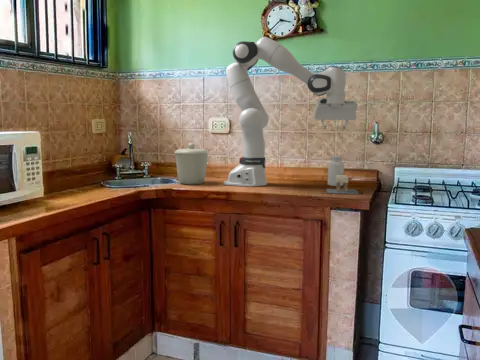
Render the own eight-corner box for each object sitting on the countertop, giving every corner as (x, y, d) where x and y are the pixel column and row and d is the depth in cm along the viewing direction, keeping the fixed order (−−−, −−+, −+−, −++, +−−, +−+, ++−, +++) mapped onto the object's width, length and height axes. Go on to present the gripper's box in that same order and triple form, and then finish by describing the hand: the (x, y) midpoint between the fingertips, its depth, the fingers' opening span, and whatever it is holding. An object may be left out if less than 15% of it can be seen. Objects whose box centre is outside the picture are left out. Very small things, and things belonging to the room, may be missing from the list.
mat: (327, 193, 212) (327, 192, 212) (326, 189, 223) (326, 188, 223) (358, 194, 209) (358, 193, 209) (355, 190, 221) (356, 189, 221)
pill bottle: (343, 186, 234) (344, 157, 232) (327, 186, 235) (328, 156, 233) (343, 184, 241) (344, 156, 239) (327, 184, 243) (328, 155, 241)
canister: (200, 186, 228) (200, 144, 225) (167, 184, 233) (167, 143, 230) (214, 182, 245) (214, 142, 242) (183, 180, 250) (183, 141, 248)
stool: (335, 189, 221) (336, 175, 220) (346, 189, 220) (347, 175, 219) (336, 192, 213) (337, 177, 212) (347, 192, 212) (348, 177, 211)
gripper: (356, 101, 226) (355, 129, 227) (314, 100, 229) (313, 128, 231) (358, 100, 220) (356, 129, 221) (314, 100, 223) (313, 129, 224)
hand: (334, 129), depth 226 cm, fingers open, 8 cm apart
